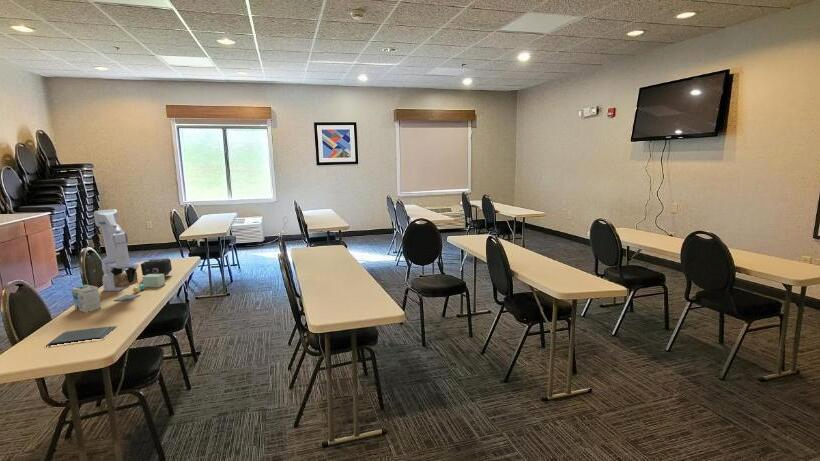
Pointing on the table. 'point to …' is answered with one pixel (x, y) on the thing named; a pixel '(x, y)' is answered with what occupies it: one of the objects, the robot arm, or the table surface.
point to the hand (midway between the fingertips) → (125, 282)
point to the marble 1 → (136, 289)
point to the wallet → (82, 335)
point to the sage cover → (153, 280)
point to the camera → (156, 267)
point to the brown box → (124, 280)
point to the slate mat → (127, 298)
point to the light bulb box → (86, 298)
